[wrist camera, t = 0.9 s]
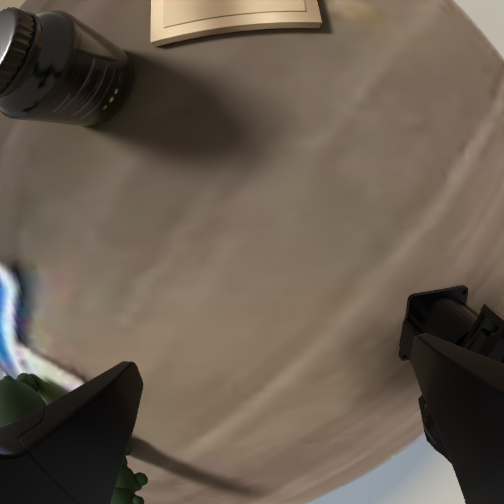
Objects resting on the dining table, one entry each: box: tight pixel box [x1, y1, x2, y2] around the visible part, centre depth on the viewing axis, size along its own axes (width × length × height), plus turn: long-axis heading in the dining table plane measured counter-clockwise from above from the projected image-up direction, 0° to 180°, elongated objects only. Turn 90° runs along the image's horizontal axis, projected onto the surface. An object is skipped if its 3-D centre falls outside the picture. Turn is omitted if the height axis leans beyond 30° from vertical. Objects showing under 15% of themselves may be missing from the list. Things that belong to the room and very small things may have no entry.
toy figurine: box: [0, 373, 148, 504], centre depth 19 cm, size 9×19×25 cm
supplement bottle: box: [0, 7, 133, 126], centre depth 12 cm, size 7×7×12 cm
